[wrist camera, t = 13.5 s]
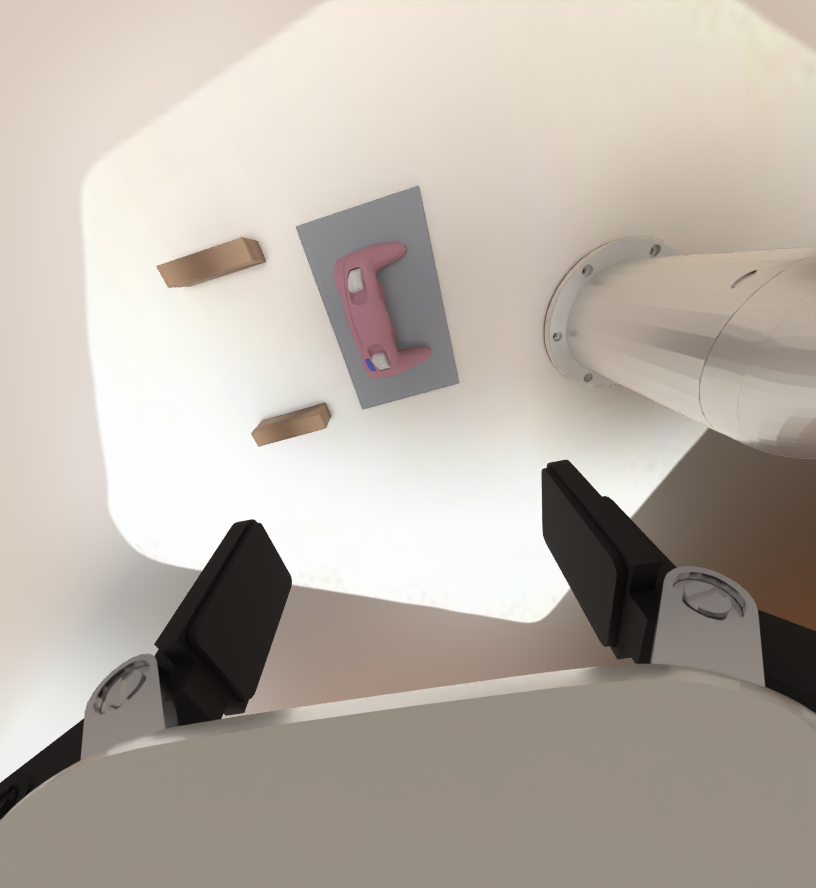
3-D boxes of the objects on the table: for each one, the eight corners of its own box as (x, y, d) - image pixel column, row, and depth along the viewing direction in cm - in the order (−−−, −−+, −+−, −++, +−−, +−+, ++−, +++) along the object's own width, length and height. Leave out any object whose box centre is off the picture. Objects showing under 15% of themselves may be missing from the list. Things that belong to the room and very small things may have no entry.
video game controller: (361, 252, 28) (310, 261, 22) (408, 235, 25) (364, 240, 20) (394, 363, 32) (358, 392, 27) (436, 356, 30) (406, 386, 25)
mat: (418, 187, 25) (418, 185, 24) (457, 381, 32) (459, 382, 32) (297, 227, 26) (295, 226, 25) (363, 407, 33) (362, 409, 33)
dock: (257, 241, 26) (242, 237, 23) (331, 416, 33) (325, 428, 31) (179, 267, 27) (156, 266, 24) (268, 433, 34) (258, 446, 31)
